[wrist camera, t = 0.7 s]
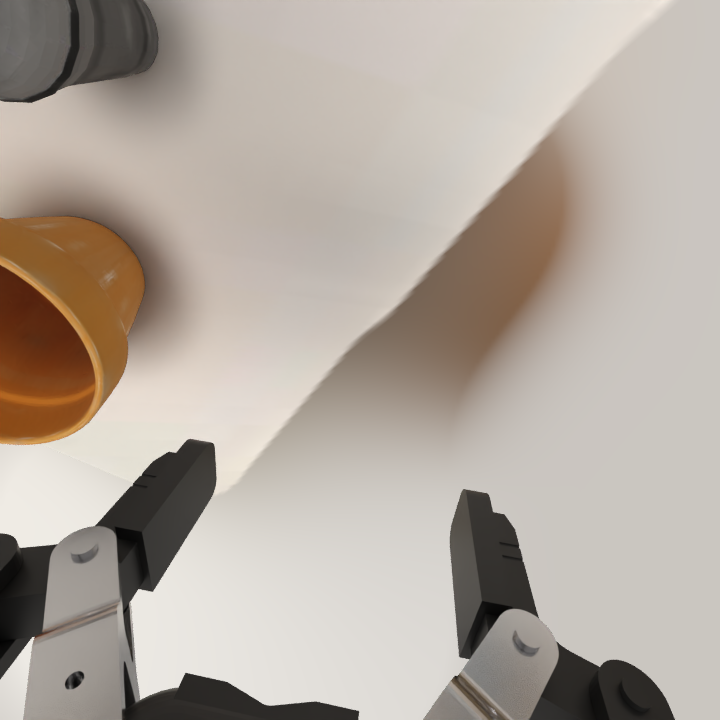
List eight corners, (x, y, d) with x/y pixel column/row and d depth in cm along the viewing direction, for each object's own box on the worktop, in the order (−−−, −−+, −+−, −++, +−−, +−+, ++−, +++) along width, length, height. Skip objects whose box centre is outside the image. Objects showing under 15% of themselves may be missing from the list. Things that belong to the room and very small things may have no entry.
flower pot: (126, 156, 29) (-10, 194, 18) (206, 327, 36) (145, 427, 26) (-50, 199, 30) (-276, 258, 19) (64, 355, 38) (-52, 461, 27)
